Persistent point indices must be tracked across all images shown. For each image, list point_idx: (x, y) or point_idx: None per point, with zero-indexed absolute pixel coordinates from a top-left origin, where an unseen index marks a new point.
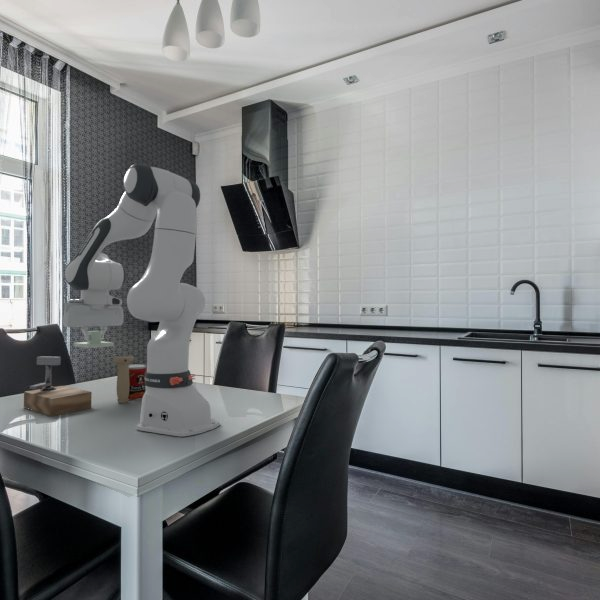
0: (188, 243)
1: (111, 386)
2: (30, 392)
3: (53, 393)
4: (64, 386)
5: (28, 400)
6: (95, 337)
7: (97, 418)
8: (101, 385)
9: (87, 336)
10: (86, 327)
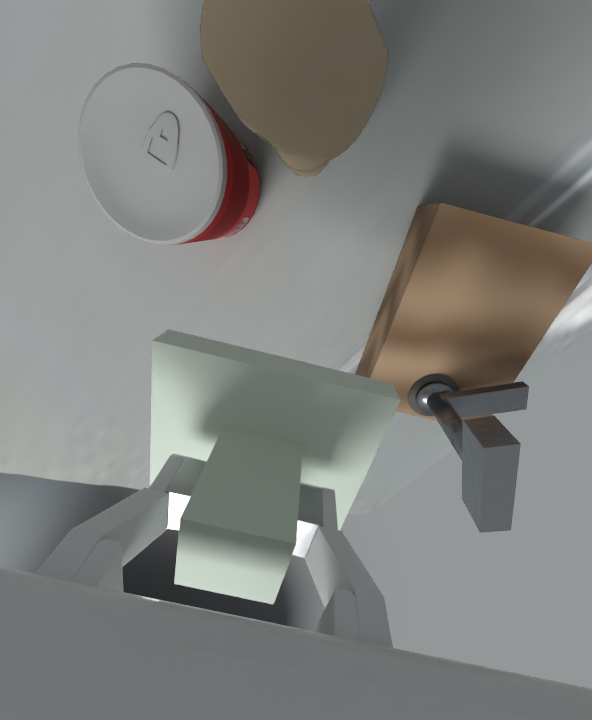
0: None
1: (142, 398)
2: None
3: (497, 324)
4: None
5: None
6: (267, 474)
7: (581, 10)
8: None
9: (333, 514)
10: (364, 634)
